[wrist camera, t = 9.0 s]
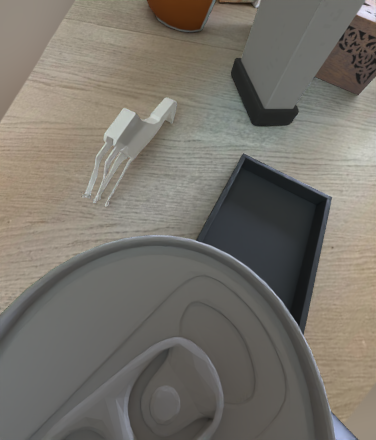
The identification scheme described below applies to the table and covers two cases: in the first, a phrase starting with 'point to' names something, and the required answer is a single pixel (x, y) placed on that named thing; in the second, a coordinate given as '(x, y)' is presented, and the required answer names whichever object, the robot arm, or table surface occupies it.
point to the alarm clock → (182, 13)
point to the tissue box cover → (354, 53)
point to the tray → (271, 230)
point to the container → (287, 54)
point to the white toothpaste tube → (254, 0)
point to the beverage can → (156, 351)
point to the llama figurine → (128, 141)
